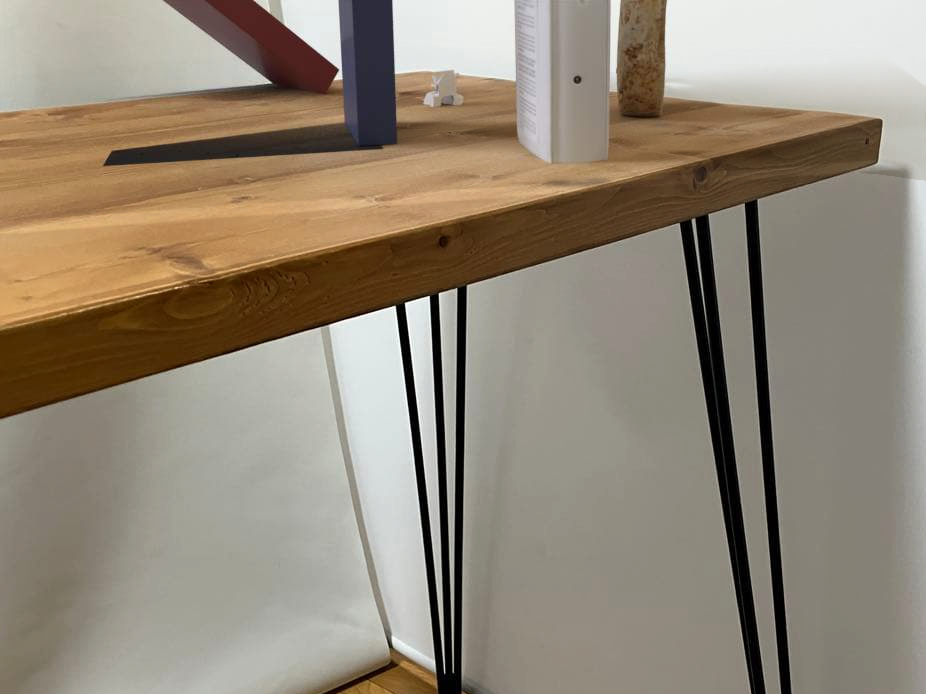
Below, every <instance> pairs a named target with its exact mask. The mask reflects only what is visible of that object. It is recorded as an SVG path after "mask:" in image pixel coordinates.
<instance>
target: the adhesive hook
mask: <svg viewBox="0 0 926 694" xmlns="http://www.w3.org/2000/svg"><path fill="white" fill-rule="evenodd" d="M459 77H461V74H460V72H455V70H454V69H449V70H439V71H435V75H432V76H431V78H432V80H433V83H430V87H432V88H434V90H433V91H430V92H427V93H426V95H425V97H424V99H423V103H422V105H425V106H429V107H431V108H438V107H441V106H442V104H444V105H452V106H461V105H463V101H464V96H463V95H462V94H460V93H458V92H457V91H458V86H457V78H459Z"/></svg>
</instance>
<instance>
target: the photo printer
mask: <svg viewBox="0 0 926 694" xmlns="http://www.w3.org/2000/svg"><path fill="white" fill-rule="evenodd" d="M513 1H514V2H513V3H514V46H515V47H514V48H515V99H516V101H515V104H516V108H515V109H516V133H517V139H518V140H517V141H518V143H520V144H521V145H522V146H523V147H524V148H525V149H526V150H527V151H529V152H531V154H533V155H534V156H535V157H537V158H539V159H540V160H542V161H544V162H546V163H549V164H589V163H595V162H599V161H607V160H608V157H609V148H610V99H611V98H610V97H611V95H610V94H611V93H610V92H611V91H610V90H611V17H612V16H611V14H612V13H611V12H612V11H611V9H612V4H611V3H612V1H611V0H513Z"/></svg>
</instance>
